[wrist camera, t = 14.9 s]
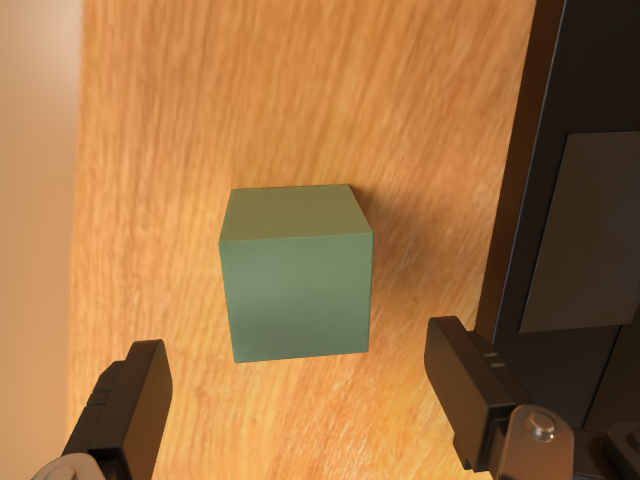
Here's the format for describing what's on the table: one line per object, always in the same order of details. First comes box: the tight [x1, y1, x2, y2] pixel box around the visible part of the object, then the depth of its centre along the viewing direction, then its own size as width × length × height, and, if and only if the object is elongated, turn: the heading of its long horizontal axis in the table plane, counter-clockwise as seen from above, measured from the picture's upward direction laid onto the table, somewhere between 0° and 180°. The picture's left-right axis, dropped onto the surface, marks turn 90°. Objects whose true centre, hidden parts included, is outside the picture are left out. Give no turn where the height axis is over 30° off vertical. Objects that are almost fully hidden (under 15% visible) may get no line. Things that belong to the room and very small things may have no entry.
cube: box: [218, 184, 374, 363], centre depth 17 cm, size 5×5×5 cm
